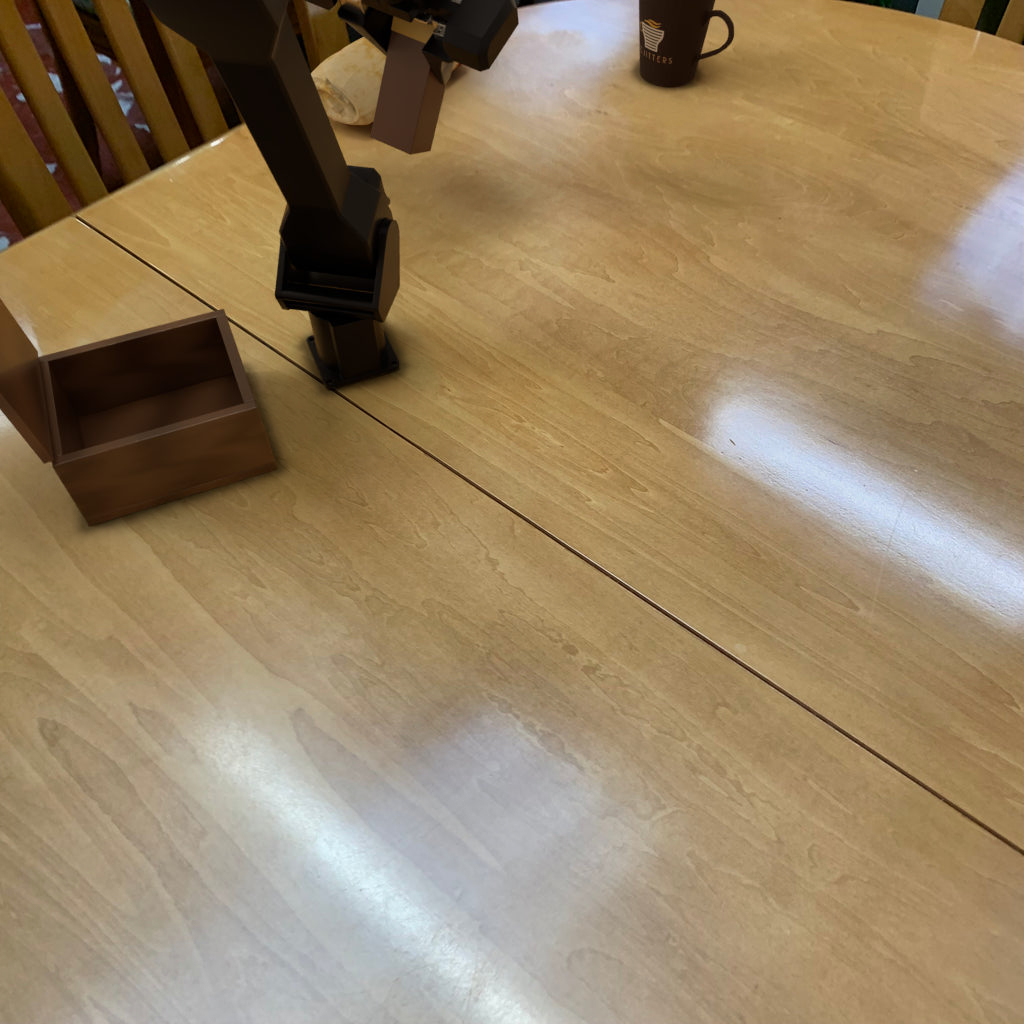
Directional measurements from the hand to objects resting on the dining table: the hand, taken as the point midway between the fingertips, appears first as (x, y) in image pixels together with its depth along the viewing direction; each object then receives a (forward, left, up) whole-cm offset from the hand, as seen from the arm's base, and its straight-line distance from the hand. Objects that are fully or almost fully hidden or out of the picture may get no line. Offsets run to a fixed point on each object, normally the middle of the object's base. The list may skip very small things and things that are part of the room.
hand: (423, 71), depth 86 cm
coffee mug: (+8, -32, -11) cm, 35 cm away
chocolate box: (-2, +4, -5) cm, 7 cm away
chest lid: (-26, +38, +4) cm, 47 cm away
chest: (-26, +31, -11) cm, 42 cm away
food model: (+12, +7, -8) cm, 16 cm away
